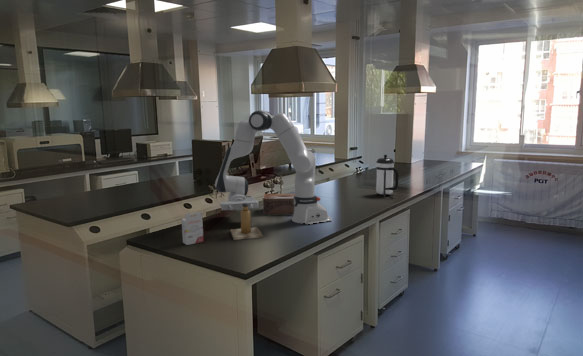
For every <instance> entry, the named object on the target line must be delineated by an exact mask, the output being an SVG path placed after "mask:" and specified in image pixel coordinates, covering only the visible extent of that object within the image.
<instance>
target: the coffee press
mask: <svg viewBox="0 0 583 356" xmlns="http://www.w3.org/2000/svg"><path fill="white" fill-rule="evenodd" d="M394 165H395V161H394V159H392V158H391V157H388V155H387V154H384V155H383V157H379V158H378V159H377V160H376V172H375V173H376V175H375V177H376V178H375V192H374V193H377V194H379V195H382V196H383V195H385V196H386V195H392V194H395V192H394V191H396V190H397V189H398V187H399V171H398V169H397V168H396V167H395V166H394ZM394 175H395V176H394ZM394 178H395V179H394ZM394 180H395V184H394Z"/></svg>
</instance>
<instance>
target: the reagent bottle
mask: <svg viewBox="0 0 583 356" xmlns="http://www.w3.org/2000/svg"><path fill="white" fill-rule="evenodd" d="M242 206H243V210H241V211H240V229H241V233H244V234H247V233H251V228H252V227H251V225H252V223H251V222H252V221H251V218H252V217H251V209H248V203H243V204H242Z"/></svg>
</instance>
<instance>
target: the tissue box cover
mask: <svg viewBox="0 0 583 356" xmlns="http://www.w3.org/2000/svg"><path fill="white" fill-rule="evenodd" d="M294 196H295V193H265V194H264V195H263V198H262V199H263V202H262V205H263V209H262V210H263V214H270V215H293V213H294Z"/></svg>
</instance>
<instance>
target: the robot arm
mask: <svg viewBox="0 0 583 356" xmlns="http://www.w3.org/2000/svg"><path fill="white" fill-rule="evenodd" d="M248 117H249V118H248V120H241V121H239V122H238V124H237V126H236V127H237V128H236V131H235V135H234V141H233V144H232V145H231V146H229V147H228V148H227V149H226V151H225V154H224V157H223V159H222V163H221V166H220V169H219V171H218V174H217V177H216V179H215V183H214V188H215V190H216V191H218V193H229V194H228V196H227V200H224V201H221V202H220V203H219V206H220V207H221V208H220V209H221V211H235V212H241V210H243V206H242V204H243V203H248V210H254V209H258V208H259V206H260V204H259V202H260V201H258V199H256V198H254V196H252V195H248V192H249V182H248V180H247V179H246V177H244V176H237V175H236V176H234V175H227V174H228V171H229V167H230V165H231V162H232V161H233V160H234V159H237V158H242V157H245V156H247V155H249V154H251V153H252V151H253V149H254V145H255V139H256V134H257V132H259V131H260V132H261V131H262V132H263V131H267V130H269V129H270V130H272V131H273V132H274V134H275V135H276V137H277V138H278V140H279V142H280V143H281V145H282V146H283V148H284V151H285V153H286V154H287V157H288V159H289V161H290V163H291V164H292V167H293V169H294V170H295V176H294V194H295V196H294V213H293V214H292V217H291V218H292V219H291V221H292V222H294V223H295V224H303V223H305V225H308V224H310V225H314V224H313V223H317V224H320V223H319V222H324V223H327V222H326V221H331V220H332V221H333V219H332V216H330V215H329V213H328V210H327V209H326V207H325V206H323V204H321V203H320V201H321V197H320V196H316V195H315V181H316V180H315V179H316V163H317V161H316V156H315V154H314V153H313V152H312V151H310V150H309V149H307V147H306V145H305V143H304V141H303V138H302V136H301V135H300V133H299V132H298V130H297V129H296V127H295V125H294V123H293V122H292V121H291V119H290V118H289V117H288V116H287V115H286V113H284V112H278V113H277V112H276V113H275V114H272V113H270V112H269V111H266V110H264V109H263V110H256V111H253V112H252V113H251V114H250V115H249V116H248ZM332 221H331V222H332Z"/></svg>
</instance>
